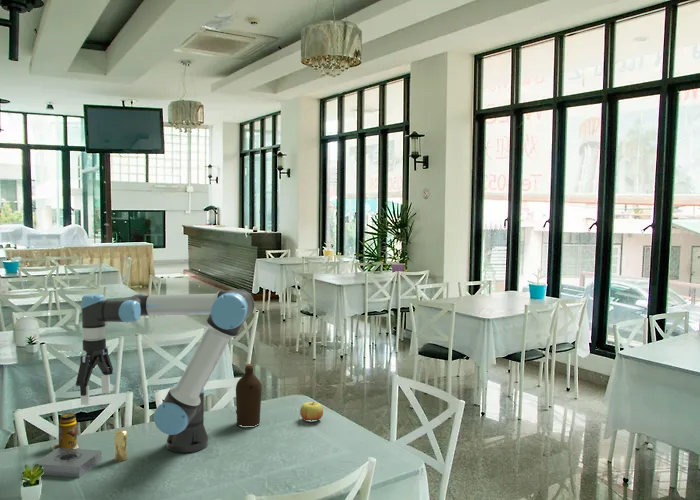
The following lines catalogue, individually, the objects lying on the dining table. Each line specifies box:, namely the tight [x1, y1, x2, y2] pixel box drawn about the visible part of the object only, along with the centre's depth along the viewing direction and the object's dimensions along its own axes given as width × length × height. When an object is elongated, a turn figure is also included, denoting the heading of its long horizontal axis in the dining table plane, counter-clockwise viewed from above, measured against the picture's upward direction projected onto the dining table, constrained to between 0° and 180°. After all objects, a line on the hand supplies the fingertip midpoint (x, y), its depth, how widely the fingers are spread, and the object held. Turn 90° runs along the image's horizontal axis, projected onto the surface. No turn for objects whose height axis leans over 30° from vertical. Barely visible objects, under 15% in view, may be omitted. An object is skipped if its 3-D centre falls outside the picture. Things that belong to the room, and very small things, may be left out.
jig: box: [32, 448, 103, 478], centre depth 203 cm, size 16×14×4 cm
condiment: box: [50, 412, 80, 451], centre depth 220 cm, size 7×8×12 cm
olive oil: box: [235, 363, 263, 426], centre depth 248 cm, size 11×11×25 cm
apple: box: [299, 401, 324, 421], centre depth 255 cm, size 10×10×8 cm
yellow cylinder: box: [114, 428, 128, 463], centre depth 211 cm, size 4×4×10 cm
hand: (95, 398), depth 212 cm, fingers open, 13 cm apart
